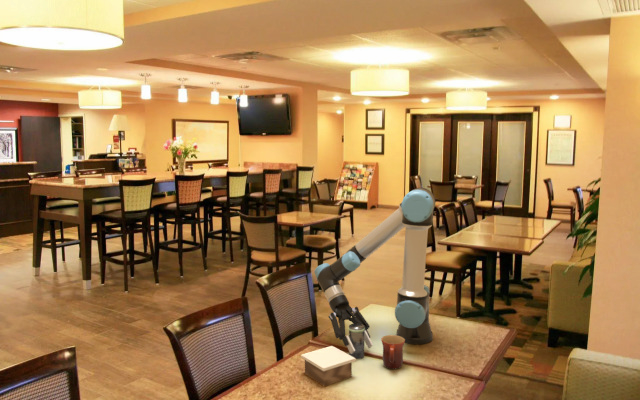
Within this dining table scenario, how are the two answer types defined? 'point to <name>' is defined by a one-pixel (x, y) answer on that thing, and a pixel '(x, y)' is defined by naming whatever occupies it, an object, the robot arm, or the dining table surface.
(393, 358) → the mug
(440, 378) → the dining table surface
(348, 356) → the pedestal
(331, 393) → the dining table surface
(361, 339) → the grey can
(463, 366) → the dining table surface
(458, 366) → the dining table surface
